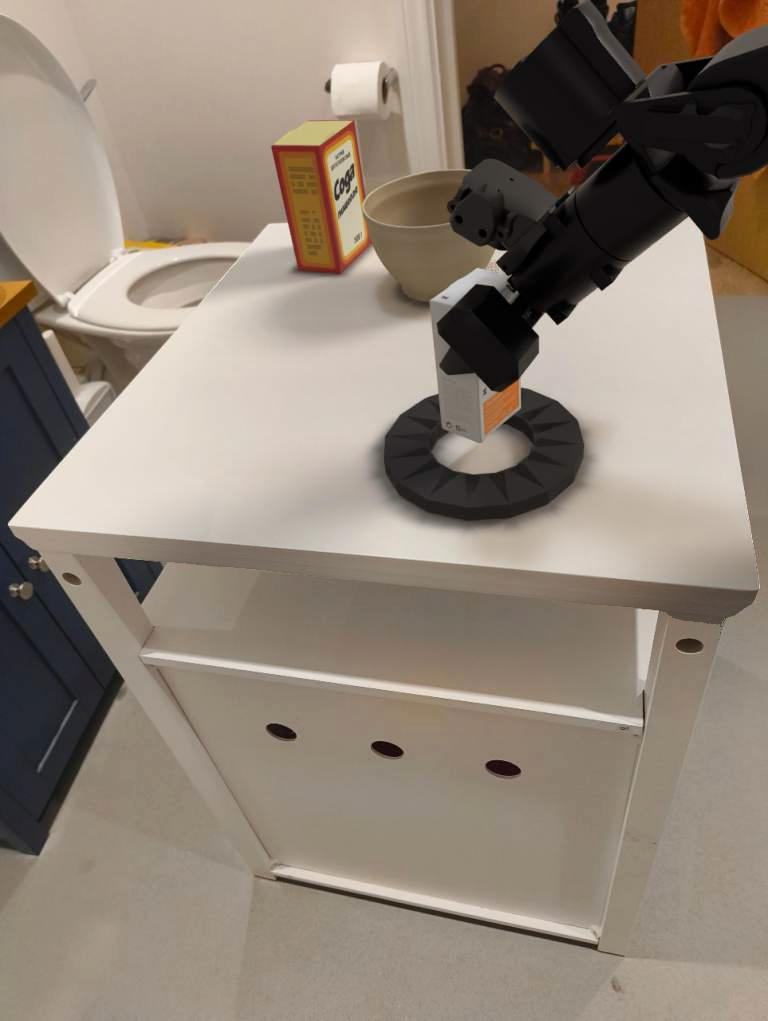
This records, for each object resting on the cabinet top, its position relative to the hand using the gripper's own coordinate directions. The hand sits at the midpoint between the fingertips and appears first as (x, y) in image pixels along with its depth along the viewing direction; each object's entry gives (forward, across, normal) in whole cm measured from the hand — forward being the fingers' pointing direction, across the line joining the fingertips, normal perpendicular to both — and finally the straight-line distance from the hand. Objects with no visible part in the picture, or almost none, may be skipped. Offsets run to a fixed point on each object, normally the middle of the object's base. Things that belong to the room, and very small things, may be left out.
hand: (463, 348), depth 59 cm
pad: (+7, 0, +8) cm, 10 cm away
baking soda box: (+32, -31, -18) cm, 48 cm away
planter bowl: (+20, -27, -5) cm, 34 cm away
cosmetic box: (+4, 0, +6) cm, 7 cm away
